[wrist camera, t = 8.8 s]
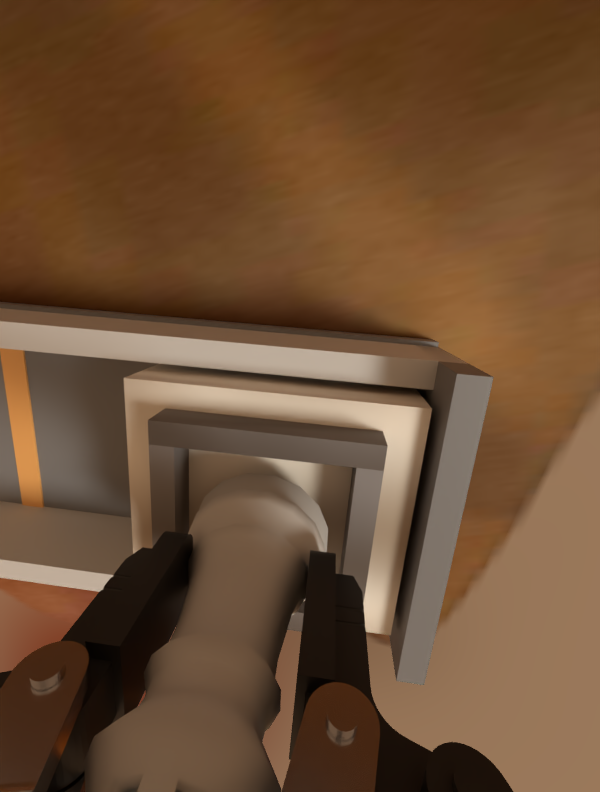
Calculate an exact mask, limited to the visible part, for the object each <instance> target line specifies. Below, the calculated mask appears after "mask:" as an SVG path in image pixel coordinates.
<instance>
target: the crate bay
mask: <svg viewBox="0 0 600 792" xmlns="http://www.w3.org/2000/svg"><path fill="white" fill-rule="evenodd" d="M438 343H439V342H437V341H435V340H432V339H420V338H409V337H397V336H386V335H374V334H363V333H351V332H340V331H329V330H317V329H306V328H294V327H283V326H271V325H260V324H249V323H237V322H226V321H214V320H203V319H191V318H180V317H169V316H157V315H146V314H134V313H123V312H111V311H100V310H89V309H77V308H66V307H54V306H43V305H31V304H20V303H8V302H0V577H1V578H8V579H15V580H22V581H29V582H36V583H43V584H49V585H56V586H63V587H70V588H77V589H84V590H91V591H98V592H100V591H101V590H103V588H104V586H105V584H106V583H107V582H108V581H109V579H110V578H111V577H113V576H114V573H115V572H116V570H117V569H118V568H119V567H120V565H121V564H122V563H123V562H124V560H125V559H126V558H128V557H129V556H131V555H132V554H133V540H132V522H131V503H130V485H129V467H128V449H127V431H126V413H125V395H124V378H125V377H127V376H130V375H132V374H135V373H137V372H140V371H142V370H145V369H147V368H150V367H152V366H155V365H157V364H169V365H180V366H190V367H200V368H211V369H221V370H231V371H242V372H252V373H262V374H273V375H283V376H293V377H304V378H314V379H324V380H335V381H345V382H355V383H366V384H376V385H386V386H397V387H407V388H415V389H416V390H417V391H418V392H419V393H420V395H421V396H422V397H423V398H424V400H425V401H426V402H427V403H428V404H429V406H430V407H431V408H432V413H431V418H430V423H429V429H428V434H427V440H426V445H425V451H424V456H423V462H422V467H421V472H420V478H419V483H418V489H417V494H416V500H415V505H414V510H413V516H412V521H411V527H410V532H409V538H408V543H407V549H406V554H405V559H404V565H403V570H402V576H401V581H400V587H399V592H398V598H397V603H396V608H395V614H394V619H393V625H392V630H391V635H389V636H390V643H391V649H392V655H393V662H394V669H395V675H396V681H401V682H407V683H414V684H420V685H424V682H425V678H426V673H427V669H428V665H429V660H430V656H431V652H432V647H433V643H434V638H435V634H436V629H437V625H438V621H439V616H440V612H441V607H442V603H443V598H444V594H445V590H446V585H447V581H448V576H449V572H450V567H451V563H452V559H453V554H454V550H455V545H456V541H457V536H458V532H459V528H460V523H461V519H462V514H463V510H464V506H465V501H466V497H467V492H468V488H469V483H470V479H471V475H472V470H473V466H474V461H475V457H476V452H477V448H478V444H479V439H480V435H481V430H482V426H483V421H484V417H485V413H486V408H487V404H488V399H489V395H490V390H491V386H492V382H493V377H492V376H490V375H488V374H487V373H485V372H483V371H481V370H479V369H477V368H476V367H474V366H472V365H470V364H468V363H466V362H464V361H463V360H461V359H459V358H457V357H455V356H453V355H452V354H450V353H448V352H446V351H444V350H442V349H441V348H439V347H438Z"/></svg>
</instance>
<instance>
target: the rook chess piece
mask: <svg viewBox="0 0 600 792" xmlns="http://www.w3.org/2000/svg"><path fill="white" fill-rule="evenodd" d="M188 534H191V535H192V536H193V551H192V553H191V555H190V558H189V561H188V577H189V588H188V591H187V594H186V597H185V600H184V604H183V607H182V610H181V613H180V616H179V619H178V622H177V626H176V629H175V631H174V633H173V635H172V638H171V639H170V641H169V642H168V643H167V644H165V645H164V646H163V647H161V648H160V649H159V650H157V651H156V652H155V653H153V654H152V655H151V657H150V660H149V662H148V664H147V667H146V669H145V671H144V681H145V690H146V695H145V698H144V699H143V701H142V702H141V704H140V705H139V706H138V707H136V708H135V709H133V710H132V711H130V712H129V713H127V714H125V715H124V716H122V717H121V718H119V719H118V720H116V721H115V722H114V723H112V724H111V725H109V726H108V727H106V728H105V729H104V730H102V731H101V732H99V733H98V734H96V735H95V736H94V738H93V740H92V743H91V745H90V747H89V750H88V752H87V755H86V757H85V759H84V769H85V792H281V788H280V785H279V783H278V780H277V778H276V775H275V773H274V770H273V768H272V765H271V763H270V761H269V758H268V756H267V753H266V751H265V748H264V746H263V743H262V740H263V736H264V733H265V731H266V730H267V729H269V727H270V726H271V724H272V723H273V721H274V720H275V718H276V716H277V714H278V713H279V712H280V699H281V689H280V687H279V685H278V683H277V681H276V679H275V674H276V668H277V662H278V658H279V654H280V651H281V648H282V645H283V641H284V638H285V635H286V632H287V628H288V625H289V622H290V619H291V616H292V615H294V614H295V613H296V612H298V610H299V608H300V606H301V605H302V603H303V602H304V601H305V596H306V587H307V577H308V567H309V558H310V550H314V551H322V552H327V539H328V527H327V524H326V522H325V520H324V517H323V515H322V512H321V510H320V507H319V505H318V504H317V503H316V502H315V501H314V500H313V499H312V498H311V497H310V496H309V495H308V494H307V493H306V492H305V491H304V490H303V489H302V488H301V487H300V486H298V485H295V484H293V483H291V482H289V481H287V480H284V479H282V478H280V477H278V476H276V475H266V474H252V473H246V474H243V475H240V476H236V477H233V478H230V479H227V480H224V481H222V482H221V483H219V484H218V485H217V486H216V487H215V488H214V489H213V490H211V491H210V492H209V493H208V494H207V495H206V496H205V497H204V499H203V501H202V504H201V506H200V508H199V511H198V512H197V513H196V516H195V518H194V520H193V523H192V525H191V527H190V530H189V532H188Z"/></svg>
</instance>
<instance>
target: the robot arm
mask: <svg viewBox="0 0 600 792" xmlns="http://www.w3.org/2000/svg"><path fill="white" fill-rule="evenodd" d="M192 551H193V536H192V535H191V534H186V533H178V532H170V531H165V532H164V533H163V534H162V535H161V536H160V538H159V539H158V541H157V542H156V543H155V545H154V546H153V548H144V547H142V548H141V549H139V550H138V551H137V552H135V553H134V554H132V555H131V556H129V557H128V558H126V559H125V560H124V562H123V563H122V564H121V565H120V567H119V568H118V569H117V570H116V572H115V573H114V576H113V577H111V578H110V579H109V581H108V582H107V583H106V584H105V586H104V588H103V590H101V591H100V592H99V593H98V594H97V596H96V597H95V598H94V599H93V601H92V602H91V603H90V605H89V606H88V607H87V608H86V610H85V611H84V612H83V613H82V615H81V616H80V617H79V618H78V620H77V621H76V622H75V623H74V625H73V626H72V627H71V629H70V630H69V631H68V632H67V634H66V635H65V636H64V637H63V639H62V640H61V641H59V642H55V643H51V644H48V645H46V646H43V647H41V648H39V649H37V650H36V651H34V652H32V653H31V654H29V655H28V656H27V657H25V658H24V659H23V660H22V661H21V662H20V663H19V664H18V665H17V666H16V667H15V668H14V669H13V670H12V671H7V672H2V673H0V792H85V769H84V759H85V757H86V755H87V752H88V750H89V747H90V745H91V743H92V740H93V738H94V736H95V735H96V734H98V733H99V732H101V731H102V730H104V729H105V728H106V727H108V726H109V725H111V724H112V723H114V722H115V721H116V720H118V719H119V718H121V717H122V716H124V715H125V714H127V713H129V712H130V711H132V710H133V709H135V708H136V707H137V706H138V704H139V702H140V700H141V698H142V696H143V694H144V692H145V681H144V671H145V669H146V667H147V664H148V662H149V660H150V657H151V655H152V654H153V653H155V652H156V651H157V650H159V649H160V648H161V647H163V646H164V645H165V644H167V643H168V642H169V640H170V638H171V636H172V634H173V631H174V629H175V627H176V625H177V622H178V619H179V616H180V613H181V610H182V607H183V604H184V600H185V597H186V594H187V591H188V588H189V577H188V561H189V558H190V555H191V553H192ZM289 759H290V760H291V761H290V764H289V768H288V771H287V775H286V778H285V782H284V785H283V789H282V792H513V791H512V789H511V788H510V786H509V784H508V783H507V782H506V780H505V778H504V777H503V775H502V774H501V773H500V771H499V770H498V769H497V768H496V767H495V765H494V764H493V763H492V762H491V761H490V760H489V759H487V758H486V757H485V756H484V755H483V754H481V753H480V752H479V751H477V750H475V749H473V748H472V747H470V746H467V745H465V744H461V743H456V742H454V743H453V742H449V743H444V744H442V745H440V746H438V747H437V748H435V749H434V750H433V752H431V751H429V750H428V749H426V748H424V747H422V746H420V745H418V744H416V743H415V742H413V741H411V740H409V739H407V738H406V737H404V736H402V735H401V734H399V733H398V732H397V731H395V730H394V729H393V728H392V727H391V726H390V725H389V724H388V723H387V722H386V721H385V720H384V718H383V717H382V716H381V714H380V712H379V711H378V709H377V708H376V705H375V703H374V700H373V697H372V694H371V687H370V676H369V664H368V652H367V640H366V629H365V617H364V605H363V593H362V590H361V588H360V587H359V585H358V583H357V581H356V580H355V578H354V576H351V575H344V574H336V553H330V552H322V551H314V550H310V558H309V567H308V577H307V587H306V596H305V606H304V615H303V625H302V635H301V644H300V654H299V664H298V673H297V683H296V693H295V703H294V713H293V723H292V733H291V743H290V753H289Z"/></svg>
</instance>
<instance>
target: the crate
mask: <svg viewBox="0 0 600 792" xmlns="http://www.w3.org/2000/svg"><path fill="white" fill-rule="evenodd" d="M124 395H125V413H126V431H127V449H128V467H129V485H130V503H131V522H132V540H133V554H134V553H135V552H137V551H138V550H139V549H141V548H142V547H144V548H153V546H154V545H155V543H156V542H157V541H158V539H159V538H160V536H161V535H162V534H163V533H164V532H165V531H170V532H178V533H186V534H188V532H189V530H190V527H191V525H192V523H193V520H194V518H195V516H196V513H197V512H198V511H199V508H200V506H201V504H202V501H203V499H204V497H205V496H206V495H207V494H208V493H209V492H210V491H211V490H213V489H214V488H215V487H216V486H217V485H218V484H219V483H221V482H222V481H224V480H227V479H230V478H233V477H236V476H240V475H243V474H246V473H252V474H266V475H276V476H278V477H280V478H282V479H284V480H287V481H289V482H291V483H293V484H295V485H298V486H300V487H301V488H302V489H303V490H304V491H305V492H306V493H307V494H308V495H309V496H310V497H311V498H312V499H313V500H314V501H315V502H316V503H317V504H318V505H319V507H320V510H321V512H322V515H323V517H324V520H325V522H326V524H327V527H328V539H327V552H330V553H336V574H344V575H351V576H354V578H355V580H356V581H357V583H358V585H359V587H360V588H361V590H362V593H363V605H364V617H365V629H366V632H371V633H378V634H385V635H391V630H392V625H393V619H394V614H395V608H396V603H397V598H398V592H399V587H400V581H401V576H402V570H403V565H404V559H405V554H406V549H407V543H408V538H409V532H410V527H411V521H412V516H413V510H414V505H415V500H416V494H417V489H418V483H419V478H420V472H421V467H422V462H423V456H424V451H425V445H426V440H427V434H428V429H429V423H430V418H431V413H432V408H431V407H430V406H429V404H428V403H427V402H426V401H425V400H424V398H423V397H422V396H421V395H420V393H419V392H418V391H417V390H416V389H415V388H407V387H397V386H386V385H376V384H366V383H355V382H345V381H335V380H324V379H314V378H304V377H293V376H283V375H273V374H262V373H252V372H242V371H231V370H221V369H211V368H200V367H190V366H180V365H169V364H157V365H155V366H152V367H150V368H147V369H145V370H142V371H140V372H137V373H135V374H132V375H130V376H127V377H125V378H124ZM304 606H305V601H304V602H303V603H302V605H301V606H300V608H299V610H298V612H296V613H295V614H294V615H292V616H291V619H290V622H289V625H288V628H287V630H294V631H301V632H302V625H303V615H304Z"/></svg>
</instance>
